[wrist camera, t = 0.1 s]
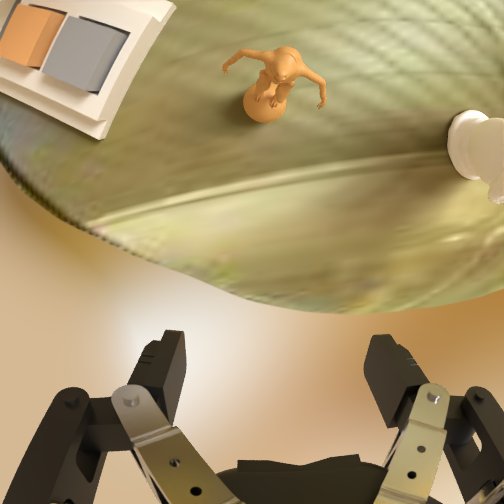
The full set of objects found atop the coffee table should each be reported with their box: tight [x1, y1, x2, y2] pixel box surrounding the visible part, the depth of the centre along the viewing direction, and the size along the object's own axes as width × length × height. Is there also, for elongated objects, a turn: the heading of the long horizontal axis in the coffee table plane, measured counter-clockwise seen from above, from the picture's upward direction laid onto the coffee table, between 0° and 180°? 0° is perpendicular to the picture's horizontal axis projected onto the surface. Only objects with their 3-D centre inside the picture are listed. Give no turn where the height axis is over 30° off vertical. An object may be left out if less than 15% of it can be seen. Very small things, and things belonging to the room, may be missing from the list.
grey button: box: [42, 16, 129, 91], centre depth 21 cm, size 6×6×3 cm
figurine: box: [222, 46, 326, 123], centre depth 22 cm, size 8×6×12 cm
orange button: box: [0, 4, 66, 67], centre depth 19 cm, size 6×6×3 cm
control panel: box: [0, 0, 177, 140], centre depth 22 cm, size 16×26×4 cm, turn 59°
